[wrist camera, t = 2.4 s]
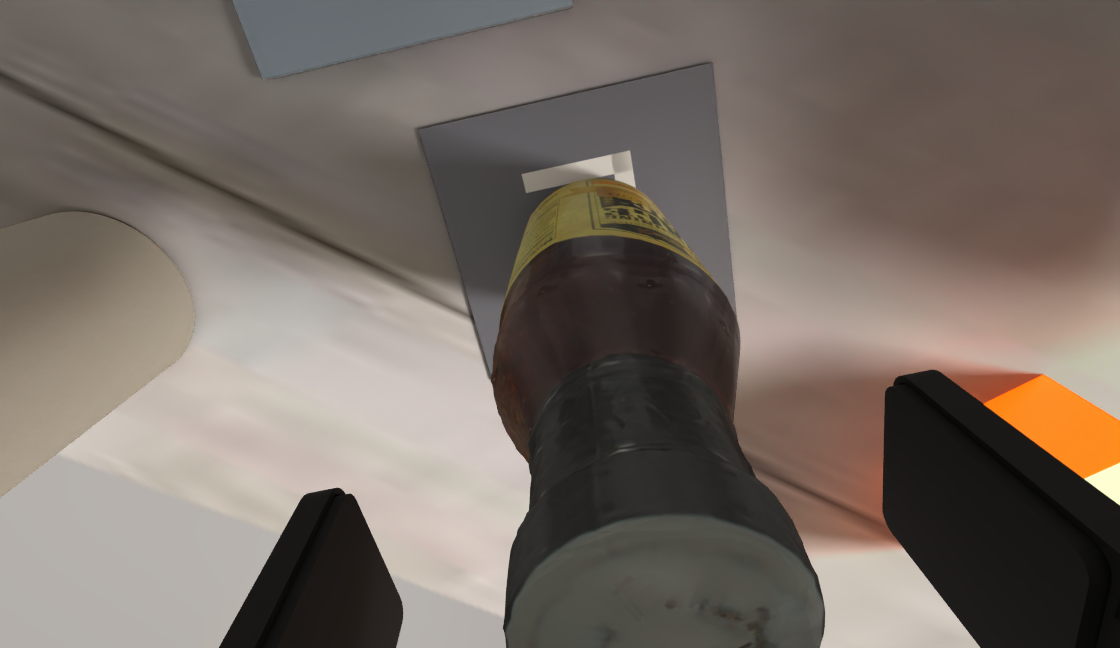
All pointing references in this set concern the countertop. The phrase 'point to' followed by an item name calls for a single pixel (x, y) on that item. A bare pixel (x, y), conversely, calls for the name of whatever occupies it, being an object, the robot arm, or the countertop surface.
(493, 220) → the tile
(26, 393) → the travel mug
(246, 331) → the countertop surface
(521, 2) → the pad
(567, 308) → the sauce bottle
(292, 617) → the robot arm
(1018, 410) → the orange juice
